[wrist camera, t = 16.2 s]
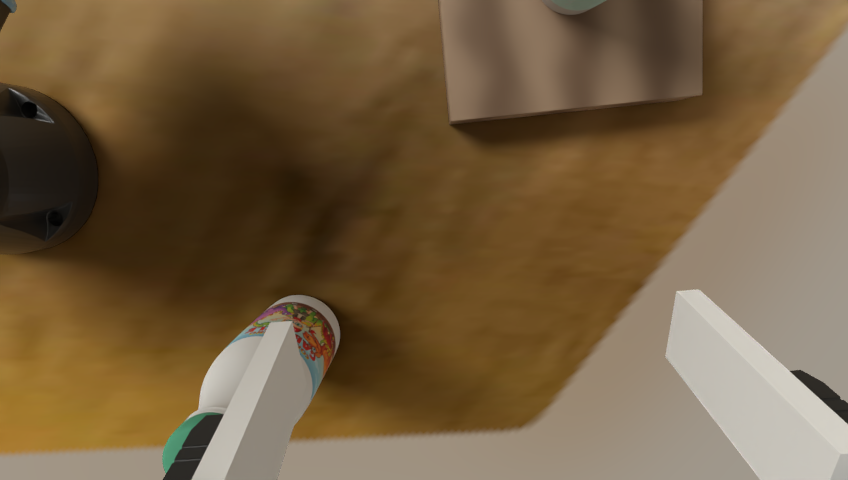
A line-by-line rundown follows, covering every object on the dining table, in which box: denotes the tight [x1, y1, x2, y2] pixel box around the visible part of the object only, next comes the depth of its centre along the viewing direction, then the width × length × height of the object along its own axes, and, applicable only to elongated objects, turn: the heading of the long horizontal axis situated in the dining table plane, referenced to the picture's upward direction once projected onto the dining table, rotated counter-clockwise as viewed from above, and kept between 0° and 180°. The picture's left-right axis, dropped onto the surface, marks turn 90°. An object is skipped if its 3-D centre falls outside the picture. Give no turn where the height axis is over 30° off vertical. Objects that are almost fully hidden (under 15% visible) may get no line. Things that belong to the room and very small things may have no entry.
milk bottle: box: [163, 295, 340, 473], centre depth 35 cm, size 8×8×20 cm
